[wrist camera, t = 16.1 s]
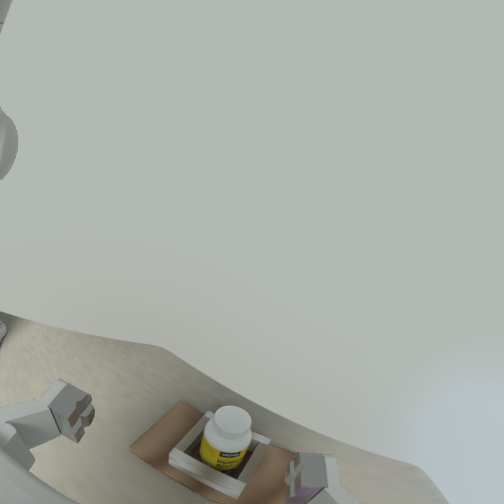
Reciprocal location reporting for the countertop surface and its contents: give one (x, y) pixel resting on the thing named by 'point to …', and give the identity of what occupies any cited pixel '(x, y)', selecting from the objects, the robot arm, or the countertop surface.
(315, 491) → the robot arm
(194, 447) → the jig board
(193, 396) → the countertop surface
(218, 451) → the supplement bottle
